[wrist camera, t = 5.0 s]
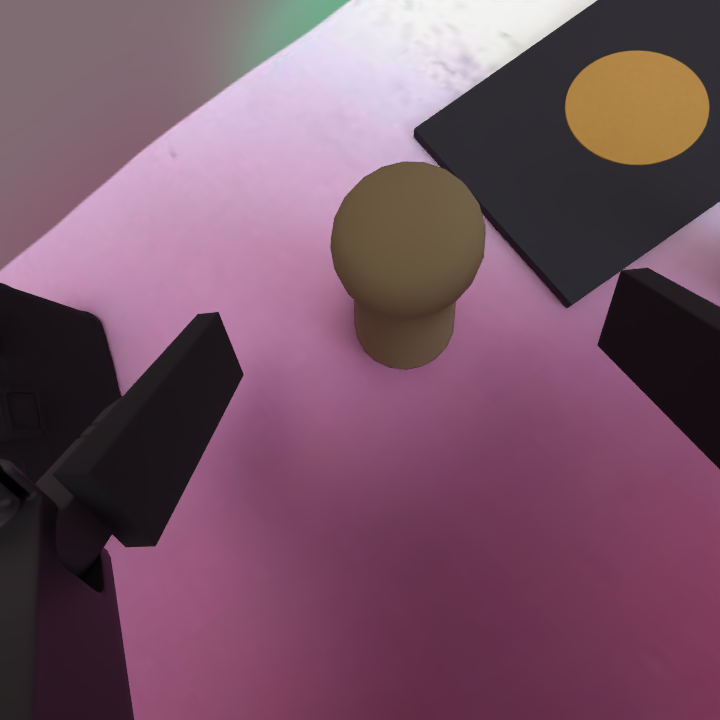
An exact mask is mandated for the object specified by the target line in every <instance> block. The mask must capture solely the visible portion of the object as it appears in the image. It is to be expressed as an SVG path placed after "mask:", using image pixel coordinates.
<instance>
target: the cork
mask: <svg viewBox="0 0 720 720" xmlns="http://www.w3.org/2000/svg"><path fill="white" fill-rule="evenodd" d="M484 246H485V223H484V219H483V216H482V212H481V208H480V205H479V203H478V202H477V200H476V199H475V197H474V196H473V195H472V193H471V192H470V190H469V189H468V188H467V186H466V185H465V184H464V183H463V182H462V181H461V180H460V179H458V178H457V177H455V176H454V175H453V174H451V173H450V172H448V171H447V170H446V169H444V168H440V167H437V166H434V165H431V164H428V163H425V162H400V163H396V164H392V165H388V166H384V167H381V168H379V169H378V170H376V171H374V172H372V173H371V174H369V175H367V176H366V177H364V178H363V179H362V180H361V181H360V182H359V183H358V184H357V185H356V186H355V187H354V188H353V189H352V190H351V191H350V192H349V193H348V194H347V196H346V197H345V198H344V200H343V202H342V204H341V206H340V208H339V210H338V211H337V213H336V215H335V217H334V223H333V230H332V237H331V253H332V258H333V263H334V269H335V271H336V273H337V275H338V277H339V279H340V280H341V282H342V284H343V286H344V287H345V289H346V291H347V293H348V294H349V295H350V296H351V297H352V298H353V299H354V321H355V328H356V334H357V338H358V340H359V342H360V344H361V345H362V347H363V349H364V351H365V352H366V353H367V354H369V355H370V356H371V357H372V358H373V359H374V360H375V361H377V362H379V363H381V364H383V365H386V366H388V367H390V368H398V369H411V368H416V367H420V366H423V365H425V364H427V363H429V362H430V361H432V360H434V359H436V358H437V357H438V356H439V355H440V353H441V352H442V351H443V350H444V349H445V348H446V347H447V345H448V343H449V340H450V338H451V336H452V334H453V326H454V315H455V302H456V300H457V299H458V298H459V297H460V296H461V295H462V294H463V293H464V292H465V291H466V290H467V289H468V288H469V286H470V285H471V283H472V282H473V280H474V278H475V276H476V273H477V271H478V269H479V267H480V264H481V262H482V260H483V258H484Z"/></svg>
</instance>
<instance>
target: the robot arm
mask: <svg viewBox="0 0 720 720" xmlns="http://www.w3.org/2000/svg"><path fill="white" fill-rule="evenodd" d="M598 346H599V347H600V348H601V349H602V350H603V351H604V352H605V354H606V355H607V356H608V357H609V358H610V359H611V360H612V361H613V362H614V363H615V364H616V365H617V366H618V367H619V368H620V369H621V370H622V371H623V372H624V373H625V374H626V375H627V376H628V377H629V378H630V379H631V380H632V381H633V382H634V383H635V384H636V385H637V386H638V387H639V388H640V389H641V390H642V391H643V392H644V393H645V394H646V395H647V396H648V397H649V398H650V399H651V400H652V401H653V402H654V403H655V404H656V405H657V406H658V407H659V408H660V409H661V410H662V411H663V412H664V413H665V414H666V415H667V416H668V417H669V418H670V419H671V420H672V421H673V422H674V424H675V425H676V426H677V427H678V428H679V429H680V430H681V431H682V432H683V433H684V434H685V435H686V436H687V437H688V438H689V439H690V440H691V441H692V442H693V443H694V444H695V445H696V446H697V447H698V448H699V449H700V450H701V451H702V452H703V453H704V454H705V455H706V456H707V457H708V458H709V459H710V460H711V461H712V462H713V463H714V464H715V465H716V466H717V467H718V468H719V469H720V307H719V306H717V305H715V304H713V303H711V302H710V301H708V300H706V299H704V298H702V297H700V296H698V295H697V294H695V293H693V292H691V291H689V290H687V289H686V288H684V287H682V286H680V285H678V284H676V283H675V282H673V281H671V280H669V279H667V278H665V277H664V276H662V275H660V274H658V273H656V272H654V271H653V270H651V269H649V268H641V269H631V270H622V271H621V272H620V275H619V278H618V282H617V285H616V288H615V291H614V294H613V297H612V301H611V304H610V307H609V310H608V313H607V316H606V320H605V323H604V326H603V329H602V332H601V335H600V339H599V342H598ZM243 375H244V374H243V372H242V369H241V367H240V364H239V362H238V359H237V357H236V354H235V352H234V349H233V347H232V344H231V342H230V340H229V337H228V335H227V332H226V330H225V327H224V325H223V322H222V320H221V317H220V315H219V312H214V313H205V314H197V316H196V317H195V318H194V319H193V320H192V321H191V322H190V323H189V324H188V325H187V327H186V328H185V329H184V330H183V331H182V332H181V333H180V334H179V335H178V336H177V338H176V339H175V340H174V341H173V342H172V343H171V344H170V345H169V346H168V347H167V349H166V350H165V351H164V352H163V353H162V354H161V355H160V356H159V357H158V358H157V360H156V361H155V362H154V363H153V364H152V365H151V366H150V367H149V368H148V369H147V371H146V372H145V373H144V374H143V375H142V376H141V377H140V378H139V379H138V380H137V382H136V383H135V384H134V385H133V386H132V387H131V388H130V389H129V390H128V391H127V393H126V394H125V395H124V396H122V397H121V398H119V399H118V400H117V401H115V402H114V403H112V404H111V405H109V406H108V407H107V408H105V409H104V410H103V411H102V412H101V413H100V415H99V416H98V417H97V418H96V419H95V420H94V421H93V422H92V423H91V424H92V426H88V427H87V429H86V430H85V431H84V432H83V433H82V434H81V435H80V438H78V439H76V440H75V441H74V442H73V444H72V445H71V446H70V447H69V448H68V449H67V450H66V451H65V452H64V453H63V454H62V455H61V456H60V457H59V459H58V460H57V461H56V462H55V463H54V464H53V465H52V466H51V467H50V468H49V469H48V470H47V471H46V472H45V474H44V475H43V476H42V477H41V478H40V479H39V480H38V481H37V482H36V483H35V484H34V483H33V482H32V481H31V480H30V479H29V478H28V477H27V476H26V475H25V474H24V473H22V472H21V471H20V470H19V469H18V468H17V467H16V466H15V465H14V464H13V463H12V462H11V461H8V460H5V459H0V720H134V716H133V709H132V702H131V695H130V688H129V681H128V674H127V667H126V660H125V653H124V647H123V640H122V633H121V626H120V619H119V612H118V605H117V598H116V591H115V584H114V577H113V570H112V563H111V557H110V555H109V553H108V551H107V550H106V549H105V548H104V546H105V544H106V543H107V541H108V540H109V538H110V536H111V535H112V534H113V535H114V536H115V537H116V538H117V539H118V540H119V541H120V542H121V543H122V544H123V545H124V546H125V547H146V546H156V544H157V542H158V540H159V539H160V537H161V535H162V533H163V531H164V529H165V527H166V525H167V523H168V521H169V519H170V517H171V515H172V513H173V511H174V509H175V507H176V505H177V503H178V502H179V500H180V498H181V496H182V494H183V492H184V490H185V488H186V486H187V484H188V482H189V480H190V478H191V476H192V474H193V472H194V470H195V468H196V466H197V465H198V463H199V461H200V459H201V457H202V455H203V453H204V451H205V449H206V447H207V445H208V443H209V441H210V439H211V437H212V435H213V433H214V431H215V429H216V428H217V426H218V424H219V422H220V420H221V418H222V416H223V414H224V412H225V410H226V408H227V406H228V404H229V402H230V400H231V398H232V396H233V394H234V392H235V391H236V389H237V387H238V385H239V383H240V381H241V379H242V377H243Z"/></svg>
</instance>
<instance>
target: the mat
mask: <svg viewBox="0 0 720 720" xmlns="http://www.w3.org/2000/svg"><path fill="white" fill-rule="evenodd" d="M414 137H415V138H416V139H417V140H418V141H419V142H420V143H421V145H422V146H423V147H424V148H425V149H426V150H427V151H428V152H429V154H430V155H431V156H432V157H433V158H434V159H435V160H436V161H437V163H438V164H439V165H440V166H441V167H442V168H444V169H446V170H447V171H448V172H450V173H451V174H453V175H454V176H455V177H457V178H458V179H460V180H461V181H462V182H463V183H464V184H465V185H466V186H467V188H468V189H469V190H470V192H471V193H472V195H473V196H474V197H475V199H476V200H477V202H478V203H479V205H480V208H481V212H482V213H483V214H484V215H485V216H486V217H487V219H488V220H489V221H490V222H491V223H492V224H493V225H494V226H495V227H496V229H497V230H498V231H499V232H500V233H501V234H502V235H503V236H504V238H505V239H506V240H507V241H508V242H509V243H510V244H511V245H512V247H513V248H514V249H515V250H516V251H517V252H518V253H519V254H520V256H521V257H522V258H523V259H524V260H525V261H526V262H527V263H528V264H529V266H530V267H531V268H532V269H533V270H534V271H535V272H536V273H537V275H538V276H539V277H540V278H541V279H542V280H543V281H544V282H545V284H546V285H547V286H548V287H549V288H550V289H551V290H552V291H553V292H554V294H555V295H556V296H557V297H558V298H559V299H560V300H561V301H562V303H563V304H564V305H565V306H566V307H567V308H568V307H570V306H571V305H573V304H574V303H575V302H577V301H578V300H580V299H581V298H583V297H584V296H585V295H587V294H588V293H590V292H591V291H592V290H594V289H595V288H597V287H598V286H600V285H601V284H602V283H604V282H605V281H607V280H608V279H610V278H611V277H612V276H614V275H615V274H617V273H618V272H620V271H621V270H622V269H624V268H625V267H627V266H628V265H630V264H631V263H632V262H634V261H635V260H637V259H638V258H639V257H641V256H642V255H644V254H645V253H647V252H648V251H649V250H651V249H652V248H654V247H655V246H657V245H658V244H659V243H661V242H662V241H664V240H665V239H667V238H668V237H669V236H671V235H672V234H674V233H675V232H676V231H678V230H679V229H681V228H682V227H684V226H685V225H686V224H688V223H689V222H691V221H692V220H694V219H695V218H696V217H698V216H699V215H701V214H702V213H704V212H705V211H706V210H708V209H709V208H711V207H712V206H714V205H715V204H716V203H718V202H719V201H720V0H597V1H596V2H595V3H593V4H592V5H590V6H589V7H587V8H586V9H585V10H583V11H582V12H580V13H579V14H577V15H576V16H575V17H573V18H572V19H570V20H569V21H567V22H566V23H565V24H563V25H562V26H560V27H559V28H557V29H556V30H555V31H553V32H552V33H550V34H549V35H547V36H546V37H545V38H543V39H542V40H540V41H539V42H537V43H536V44H535V45H533V46H532V47H530V48H529V49H527V50H526V51H525V52H523V53H522V54H520V55H519V56H517V57H516V58H515V59H513V60H512V61H510V62H509V63H507V64H506V65H505V66H503V67H502V68H500V69H499V70H497V71H496V72H495V73H493V74H492V75H490V76H489V77H488V78H486V79H485V80H483V81H482V82H480V83H479V84H478V85H476V86H475V87H473V88H472V89H470V90H469V91H468V92H466V93H465V94H463V95H462V96H460V97H459V98H458V99H456V100H455V101H453V102H452V103H450V104H449V105H448V106H446V107H445V108H443V109H442V110H440V111H439V112H438V113H436V114H435V115H433V116H432V117H430V118H429V119H428V120H426V121H425V122H423V123H422V124H420V125H419V126H418V127H416V128H415V129H414Z"/></svg>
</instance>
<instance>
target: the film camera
mask: <svg viewBox="0 0 720 720" xmlns="http://www.w3.org/2000/svg"><path fill="white" fill-rule="evenodd" d="M119 398H121V397H120V393H119V388H118V384H117V379H116V375H115V371H114V367H113V362H112V358H111V355H110V352H109V348H108V344H107V340H106V337H105V333H104V330H103V327H102V324H101V322H100V321H99V320H98V318H97V317H95V316H94V315H93V314H91V313H89V312H85V311H80V310H77V309H74V308H71V307H68V306H65V305H62V304H59V303H56V302H53V301H50V300H47V299H44V298H41V297H38V296H35V295H32V294H29V293H26V292H23V291H20V290H17V289H14V288H12V287H10V286H8V285H5V284H3V283H0V459H5V460H8V461H11V462H12V463H13V464H14V465H15V466H16V467H17V468H18V469H19V470H20V471H21V472H22V473H24V474H25V475H26V476H27V477H28V478H29V479H30V480H31V481H32V482H33V483H34V484H35V483H36V482H37V481H38V480H39V479H40V478H41V477H42V476H43V475H44V474H45V472H46V471H47V470H48V469H49V468H50V467H51V466H52V465H53V464H54V463H55V462H56V461H57V460H58V459H59V457H60V456H61V455H62V454H63V453H64V452H65V451H66V450H67V449H68V448H69V447H70V446H71V445H72V444H73V442H74V441H75V440H76V439H78V438H80V435H81V434H82V433H83V432H84V431H85V430H86V429H87V427H88V426H92V424H91V423H92V422H93V421H94V420H95V419H96V418H97V417H98V416H99V415H100V413H101V412H102V411H103V410H104V409H105V408H107V407H108V406H109V405H111V404H112V403H114V402H115V401H117V400H118V399H119Z"/></svg>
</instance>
